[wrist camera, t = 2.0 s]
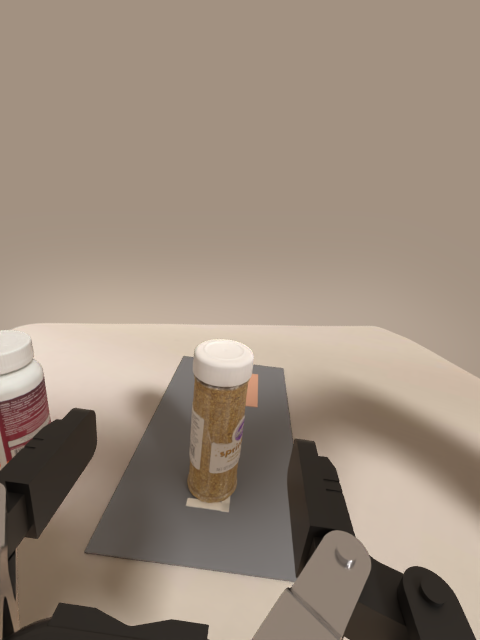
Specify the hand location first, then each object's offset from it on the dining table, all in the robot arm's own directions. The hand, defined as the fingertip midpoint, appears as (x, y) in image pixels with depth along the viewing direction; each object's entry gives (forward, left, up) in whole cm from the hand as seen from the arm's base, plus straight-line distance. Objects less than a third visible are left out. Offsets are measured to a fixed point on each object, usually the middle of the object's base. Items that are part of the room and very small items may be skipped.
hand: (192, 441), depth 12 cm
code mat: (0, -19, -15) cm, 24 cm away
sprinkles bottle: (0, -11, -15) cm, 19 cm away
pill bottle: (+19, -12, -15) cm, 27 cm away
